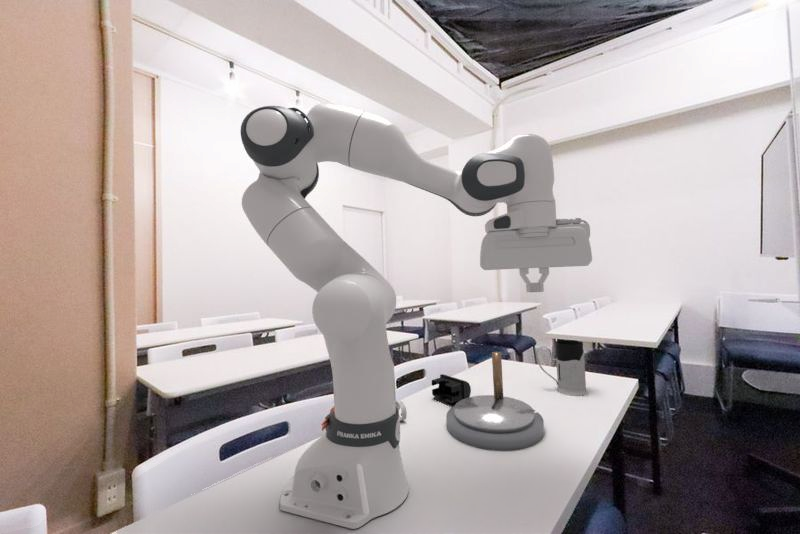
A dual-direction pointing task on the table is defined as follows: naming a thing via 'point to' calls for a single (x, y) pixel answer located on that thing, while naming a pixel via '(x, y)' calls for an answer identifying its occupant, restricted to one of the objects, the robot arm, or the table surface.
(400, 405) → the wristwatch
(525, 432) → the base
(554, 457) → the table surface
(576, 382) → the glass holder
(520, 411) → the dial
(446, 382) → the end cap
